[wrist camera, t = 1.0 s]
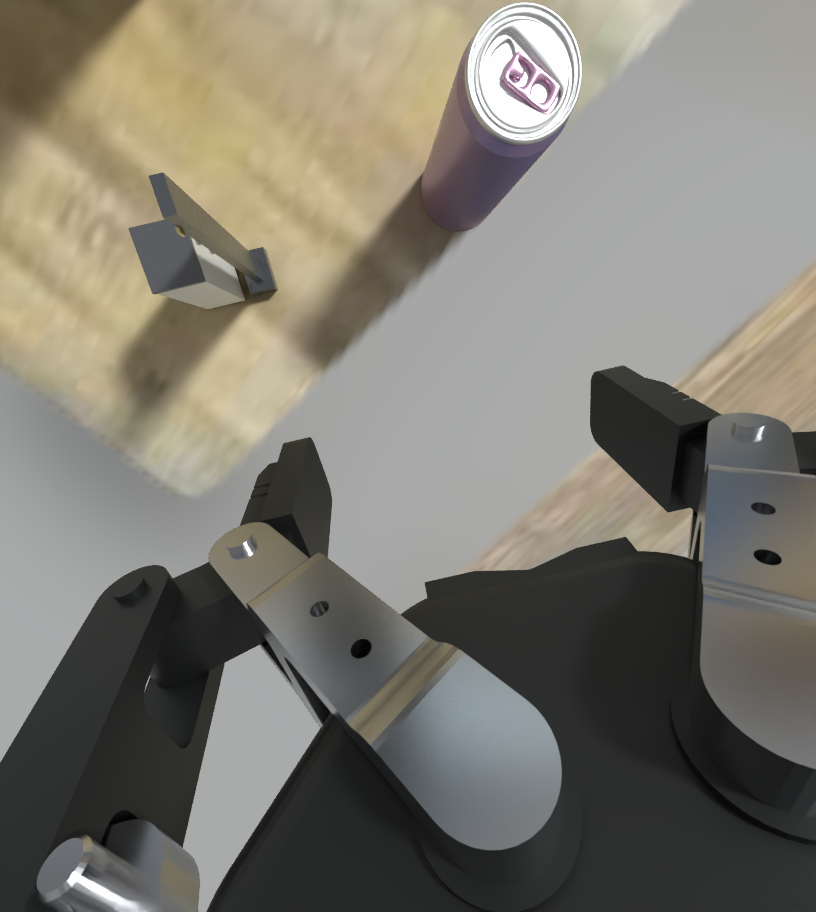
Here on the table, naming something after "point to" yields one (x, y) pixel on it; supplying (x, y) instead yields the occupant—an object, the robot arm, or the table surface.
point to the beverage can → (501, 112)
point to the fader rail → (212, 234)
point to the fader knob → (184, 267)
